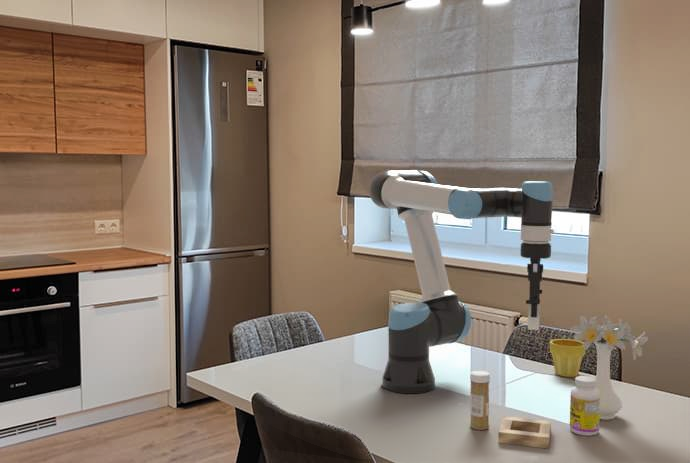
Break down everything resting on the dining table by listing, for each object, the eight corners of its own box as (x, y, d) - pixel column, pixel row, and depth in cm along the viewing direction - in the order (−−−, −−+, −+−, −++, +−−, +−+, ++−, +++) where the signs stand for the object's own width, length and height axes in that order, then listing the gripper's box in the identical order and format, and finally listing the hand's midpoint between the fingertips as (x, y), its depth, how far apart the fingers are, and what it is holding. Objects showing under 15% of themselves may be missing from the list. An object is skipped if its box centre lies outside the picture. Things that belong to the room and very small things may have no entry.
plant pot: (580, 369, 220) (581, 338, 220) (588, 379, 210) (589, 347, 209) (546, 368, 222) (547, 338, 221) (552, 378, 211) (553, 346, 210)
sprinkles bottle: (492, 428, 170) (493, 373, 169) (479, 432, 168) (479, 376, 167) (479, 422, 174) (480, 369, 173) (465, 426, 172) (466, 371, 170)
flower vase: (640, 430, 168) (643, 327, 166) (561, 417, 178) (563, 318, 176) (648, 414, 180) (651, 317, 177) (573, 402, 189) (576, 310, 187)
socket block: (498, 442, 161) (498, 431, 161) (503, 426, 172) (503, 416, 171) (548, 448, 158) (548, 437, 157) (550, 431, 168) (551, 421, 168)
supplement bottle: (565, 426, 171) (566, 374, 170) (591, 426, 172) (593, 374, 171) (576, 437, 164) (577, 383, 163) (604, 436, 165) (605, 382, 164)
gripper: (552, 247, 168) (549, 335, 170) (550, 237, 192) (548, 314, 194) (519, 246, 170) (517, 333, 172) (521, 236, 194) (519, 313, 196)
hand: (533, 323), depth 183 cm, fingers open, 13 cm apart
